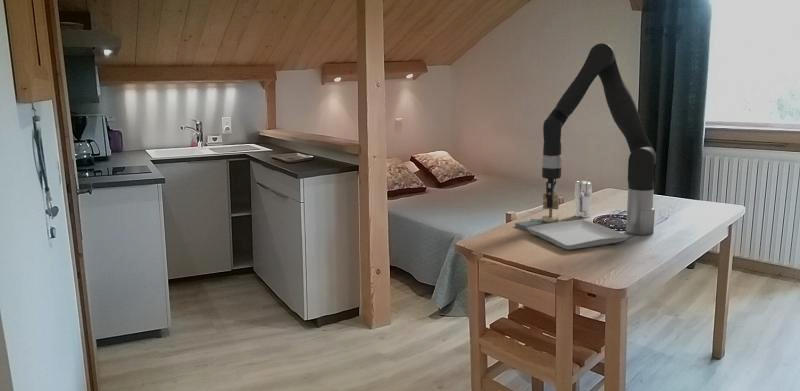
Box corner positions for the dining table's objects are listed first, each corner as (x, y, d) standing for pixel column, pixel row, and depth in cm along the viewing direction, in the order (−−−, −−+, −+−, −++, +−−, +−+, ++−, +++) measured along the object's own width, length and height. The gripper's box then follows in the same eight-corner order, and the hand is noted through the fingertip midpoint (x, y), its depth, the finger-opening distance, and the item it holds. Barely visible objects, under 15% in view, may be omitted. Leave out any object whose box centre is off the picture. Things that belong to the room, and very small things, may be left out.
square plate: (524, 235, 245) (524, 226, 244) (583, 227, 254) (583, 218, 253) (566, 254, 220) (566, 243, 219) (629, 244, 229) (630, 234, 228)
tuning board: (570, 227, 254) (570, 223, 254) (534, 233, 246) (534, 229, 246) (549, 220, 265) (549, 217, 265) (515, 226, 257) (515, 222, 257)
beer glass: (588, 214, 274) (590, 180, 271) (592, 218, 268) (593, 183, 265) (572, 214, 275) (573, 180, 272) (575, 217, 268) (576, 183, 265)
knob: (557, 223, 253) (558, 196, 251) (529, 222, 256) (530, 194, 254) (558, 219, 259) (559, 192, 256) (531, 218, 262) (531, 191, 260)
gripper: (559, 169, 244) (558, 209, 248) (562, 163, 258) (561, 202, 261) (540, 168, 247) (539, 208, 250) (544, 163, 260) (543, 201, 263)
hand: (550, 205), depth 255 cm, fingers open, 8 cm apart
